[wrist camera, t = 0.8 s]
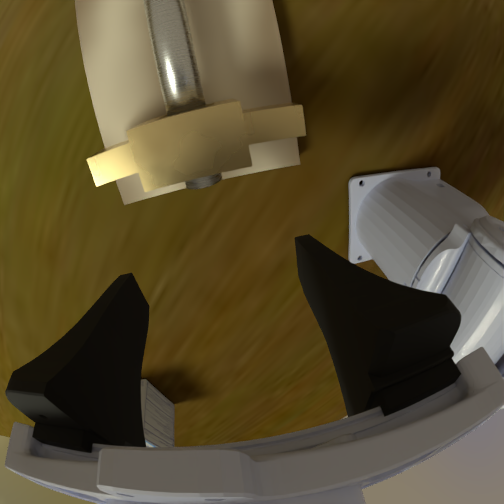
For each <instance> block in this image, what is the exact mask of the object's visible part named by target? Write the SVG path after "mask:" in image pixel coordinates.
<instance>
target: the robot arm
mask: <svg viewBox="0 0 504 504" xmlns="http://www.w3.org/2000/svg"><path fill="white" fill-rule="evenodd" d="M428 172H429V173H428ZM427 173H428V175H427ZM361 180H363V182H362V184H361V185H359V182H360V181H361ZM295 245H296V255H297V265H298V276H299V279H300V282H301V285H302V288H303V291H304V294H305V296H306V298H307V300H308V303H309V305H310V307H311V309H312V311H313V313H314V315H315V317H316V319H317V322H318V324H319V326H320V328H321V330H322V332H323V334H324V337H325V339H326V342H327V345H328V348H329V351H330V354H331V357H332V360H333V363H334V366H335V370H336V373H337V376H338V380H339V383H340V387H341V391H342V394H343V398H344V402H345V406H346V410H347V414H348V417H347V418H344V419H341V420H338V421H335V422H331V423H328V424H324V425H321V426H317V427H313V428H309V429H305V430H301V431H297V432H292V433H288V434H283V435H278V436H273V437H268V438H262V439H256V440H250V441H243V442H235V443H227V444H218V445H207V446H192V447H146V442H145V436H144V430H143V421H142V410H141V370H142V362H143V356H144V349H145V344H146V338H147V332H148V324H149V305H148V303H147V301H146V299H145V297H144V296H143V294H142V292H141V290H140V288H139V286H138V284H137V282H136V280H135V278H134V276H133V274H132V273H129V274H124V275H120V276H119V277H118V278H117V279H116V280H115V281H114V282H113V283H112V284H111V285H110V286H109V288H108V289H107V290H106V291H105V292H104V293H103V294H102V296H101V297H100V298H99V299H98V300H97V301H96V303H95V304H94V305H93V306H92V307H91V308H90V309H89V310H88V312H87V313H86V314H85V315H84V316H83V317H82V318H81V319H80V320H79V321H78V323H77V324H76V325H75V326H74V327H73V328H72V329H71V330H69V331H68V332H67V333H66V334H65V335H64V336H63V337H62V338H61V339H60V340H58V341H57V342H56V343H55V344H54V345H52V346H51V347H50V348H49V349H48V350H46V351H45V352H43V353H42V354H41V355H39V356H38V357H36V358H35V359H34V360H32V361H30V362H29V363H27V364H25V365H24V366H22V367H20V368H19V369H17V370H15V371H14V372H13V373H12V375H11V378H10V380H9V383H8V386H7V389H6V396H7V398H8V400H9V401H10V402H11V403H12V404H13V405H14V406H15V407H16V408H17V409H19V410H20V411H21V412H22V413H24V414H25V415H26V416H27V417H29V418H30V419H31V420H33V421H34V422H35V426H34V428H33V427H31V426H29V425H26V424H22V423H18V422H14V424H13V428H12V432H11V437H10V441H9V446H8V450H7V456H6V461H5V467H6V468H8V469H9V470H11V471H13V472H15V473H17V474H19V475H21V476H23V477H25V478H27V479H29V480H31V481H33V482H35V483H37V484H39V485H42V486H44V487H47V488H50V489H52V490H55V491H58V492H61V493H63V494H67V495H70V496H73V497H76V498H79V499H83V500H86V501H90V502H94V503H98V504H366V503H365V500H364V496H363V493H362V489H363V488H366V487H369V486H371V485H373V484H376V483H379V482H381V481H383V480H386V479H388V478H391V477H393V476H395V475H397V474H399V473H402V472H404V471H406V470H408V469H410V468H412V467H413V466H416V465H418V464H420V463H421V462H423V461H425V460H427V459H429V458H431V457H432V456H434V455H436V454H438V453H439V452H441V451H443V450H444V449H446V448H448V447H449V446H451V445H453V444H454V443H456V442H457V441H459V440H460V439H462V438H463V437H465V436H466V435H468V434H469V433H471V432H472V431H474V430H475V429H477V428H478V427H479V426H481V425H482V424H483V423H484V422H486V421H487V420H488V419H489V418H490V417H491V416H492V415H494V413H496V412H497V411H498V410H499V409H504V222H503V221H501V220H499V219H497V218H494V217H491V216H489V214H488V213H487V211H486V210H485V209H484V208H483V207H482V206H481V205H480V204H479V203H477V202H476V201H474V200H473V199H471V198H470V197H468V196H467V195H465V194H464V193H462V192H460V191H459V190H457V189H456V188H454V187H452V186H451V185H449V184H447V183H446V182H444V181H442V180H441V179H440V169H439V168H437V167H428V168H418V169H409V170H401V171H393V172H385V173H377V174H370V175H363V176H356V177H352V178H351V179H350V180H349V261H350V262H349V261H348V260H346V259H344V258H343V257H341V256H339V255H338V254H336V253H335V252H333V251H332V250H330V249H329V248H327V247H326V246H325V245H323V244H322V243H320V242H319V241H317V240H316V239H315V238H313V237H312V236H310V235H309V234H308V235H303V236H299V237H295ZM359 256H360V257H359ZM358 257H359V258H358ZM371 259H373V260H374V261H375V262H376V263H377V265H378V266H379V267H380V269H381V270H382V271H383V272H384V274H385V275H386V276H387V278H388V279H389V280H387V279H384V278H382V277H379V276H377V275H375V274H373V273H370V272H368V271H366V270H364V269H362V268H360V267H358V266H356V265H355V263H359V262H363V261H367V260H371Z"/></svg>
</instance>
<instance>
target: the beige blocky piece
mask: <svg viewBox="0 0 504 504" xmlns="http://www.w3.org/2000/svg"><path fill="white" fill-rule="evenodd" d="M184 2H185V7H186V12H187V17H188V22H189V27H190V31H191V36H192V41H193V46H194V51H195V55H196V60H197V65H198V70H199V74H200V79H201V84H202V88H203V93H204V98H205V102H206V104H209V103H214V102H218V101H223V100H228V99H236V100H239V101H240V102H241V108H242V110H245V109H250V108H256V107H263V106H269V105H276V104H284V103H292V101H291V94H290V88H289V82H288V76H287V70H286V65H285V59H284V54H283V49H282V43H281V38H280V33H279V29H278V24H277V19H276V14H275V10H274V5H273V1H272V0H184ZM75 7H76V16H77V24H78V31H79V38H80V44H81V50H82V56H83V61H84V66H85V71H86V76H87V81H88V85H89V90H90V94H91V98H92V102H93V106H94V110H95V114H96V118H97V121H98V125H99V129H100V132H101V136H102V139H103V142H104V146H105V148H107V147H110V146H112V145H115V144H118V143H121V142H124V141H126V140H128V136H127V133H126V131H127V130H129V129H131V128H133V127H135V126H137V125H139V124H141V123H144V122H146V121H148V120H150V119H153V118H156V117H160V116H163V115H166V114H167V112H166V108H165V104H164V100H163V96H162V91H161V87H160V83H159V78H158V74H157V69H156V64H155V60H154V55H153V50H152V45H151V40H150V35H149V30H148V25H147V20H146V14H145V9H144V3H143V0H75ZM249 150H250V155H251V161H252V167H246V168H242V169H237V170H232V171H227V172H223V173H221V174H222V179H226V178H231V177H236V176H240V175H245V174H250V173H255V172H260V171H266V170H271V169H276V168H282V167H288V166H293V165H299V164H300V159H299V151H298V143H297V137H293V138H286V139H280V140H274V141H268V142H262V143H257V144H251V145H249ZM222 179H221V180H222ZM116 183H117V185H118V188H119V191H120V194H121V197H122V199H123V202H124V205H126V204H129V203H133V202H136V201H140V200H143V199H147V198H150V197H154V196H157V195H161V194H165V193H168V192H172V191H176V190H180V189H184V188H186V185H185V182H181V183H177V184H173V185H170V186H166V187H162V188H159V189H155V190H151V191H148V192H145V191H144V188H143V185H142V182H141V179H140V176H139V173H135V174H132V175H129V176H126V177H123V178H120V179H117V180H116Z"/></svg>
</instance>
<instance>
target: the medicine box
mask: <svg viewBox="0 0 504 504" xmlns="http://www.w3.org/2000/svg"><path fill="white" fill-rule="evenodd" d="M141 410H142V421H143V430H144V436H145V442H146V447H174V404H173V403H172V402H170V401H169V400H168V399H167V398H166V397H165V396H164V395H162V394H161V393H160V392H159V391H158V390H157V389H156V388H155V387H154V386H153V385H151V384H150V383H149V382H148V381H147V380H146V379H141Z"/></svg>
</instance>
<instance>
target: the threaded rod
mask: <svg viewBox="0 0 504 504" xmlns="http://www.w3.org/2000/svg"><path fill="white" fill-rule="evenodd" d="M143 3H144V9H145V14H146V20H147V25H148V30H149V35H150V40H151V45H152V50H153V55H154V60H155V64H156V69H157V74H158V78H159V83H160V87H161V91H162V96H163V100H164V104H165V108H166V112H167V116H172V115H175V114H179V113H183V112H187V111H190V110H194V109H199V108H203V107H206V102H205V98H204V93H203V88H202V84H201V79H200V74H199V70H198V65H197V60H196V55H195V51H194V46H193V41H192V36H191V31H190V27H189V22H188V17H187V12H186V7H185V2H184V0H143ZM221 179H222V174H221V173H218V174H214V175H210V176H205V177H201V178H197V179H193V180H189V181H185V185H186V188H188V189H200V188H205V187H208V186H211V185H214V184H216V183H218V182H219V181H220V180H221Z"/></svg>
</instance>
